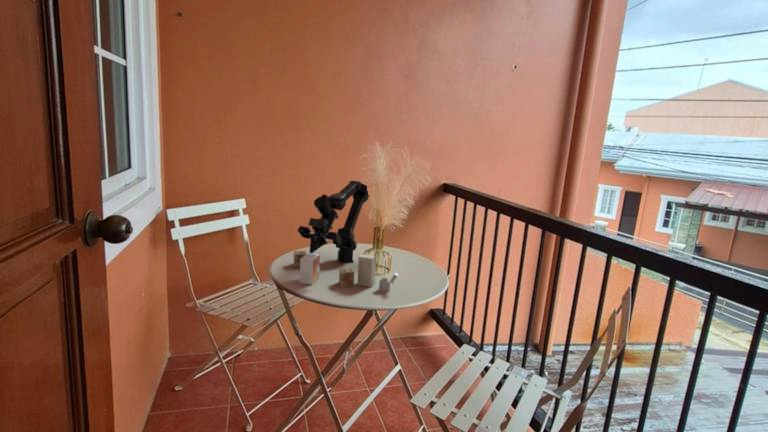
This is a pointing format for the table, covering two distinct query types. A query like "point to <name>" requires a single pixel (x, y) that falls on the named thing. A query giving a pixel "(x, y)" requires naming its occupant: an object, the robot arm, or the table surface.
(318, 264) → the small box
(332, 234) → the robot arm
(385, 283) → the lighter
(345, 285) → the walnut block one
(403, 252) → the table surface
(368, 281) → the skincare box
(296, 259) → the walnut block seven
